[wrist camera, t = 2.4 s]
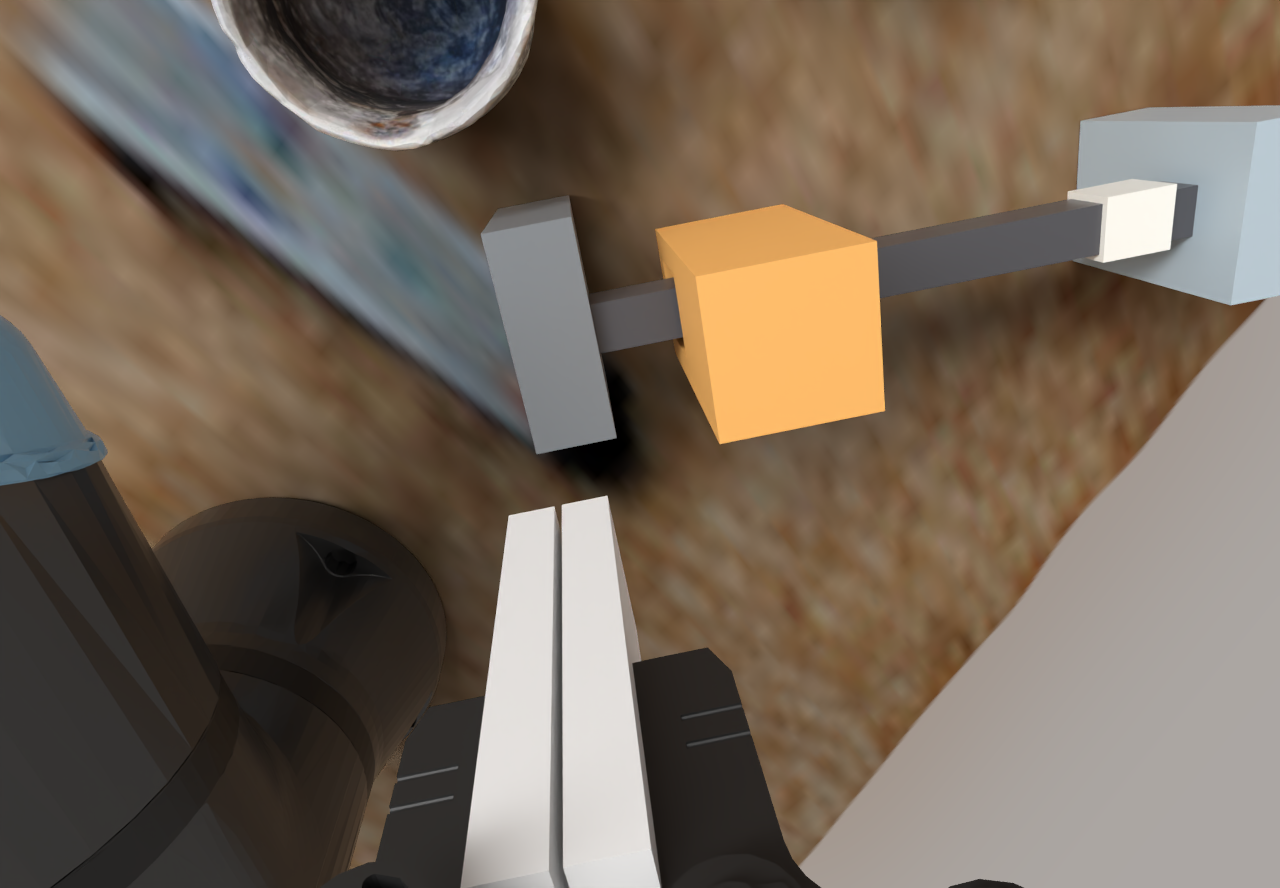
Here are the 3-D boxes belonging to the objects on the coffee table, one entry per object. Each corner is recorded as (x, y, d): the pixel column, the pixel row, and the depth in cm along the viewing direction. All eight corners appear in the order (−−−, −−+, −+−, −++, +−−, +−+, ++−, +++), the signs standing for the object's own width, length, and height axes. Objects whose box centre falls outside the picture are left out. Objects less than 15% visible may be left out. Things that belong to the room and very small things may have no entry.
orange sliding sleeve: (675, 353, 31) (719, 444, 22) (655, 229, 29) (695, 276, 20) (794, 329, 31) (884, 410, 23) (782, 204, 29) (876, 241, 21)
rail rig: (541, 387, 35) (535, 471, 27) (497, 209, 32) (476, 241, 23) (1159, 265, 35) (1340, 309, 27) (1178, 76, 32) (1391, 62, 24)
